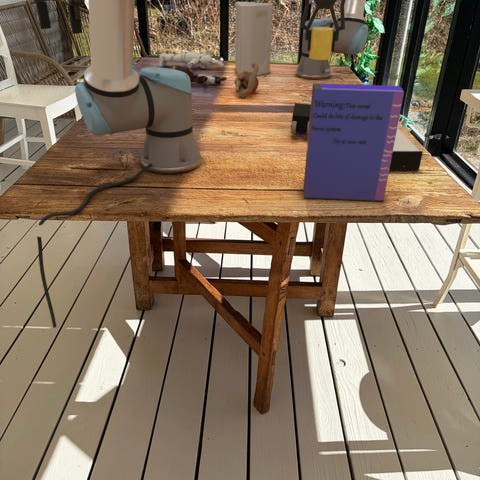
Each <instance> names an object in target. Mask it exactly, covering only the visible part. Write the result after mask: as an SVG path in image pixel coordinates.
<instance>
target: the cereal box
mask: <svg viewBox="0 0 480 480" xmlns="http://www.w3.org/2000/svg"><path fill="white" fill-rule="evenodd" d="M404 94H405V91H404V90H403V88H402V87H401V86H399V85H380V84H379V85H377V84H376V85H375V84H344V83H343V84H341V83H312V87H311V99H310V104H311V109H310V120H309V131H308V134H307V145H306V153H305V154H306V155H305V165H304V177H303V188H302V189H303V190H302V191H303V197H304V199H317V200H343V201H344V200H345V201H346V200H347V201H366V202H367V201H368V202H369V201H370V202H384V201H385V195H386V190H387V184H388V178H389V174H390V171H389V169H390V164H391V158H392V153H393V148H394V142H395V137H396V132H397V128H399V127H398V126H399V120H400V115H401V111H402V104H403V100H404V99H403V98H404Z"/></svg>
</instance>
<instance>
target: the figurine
mask: <svg viewBox="0 0 480 480" xmlns="http://www.w3.org/2000/svg"><path fill="white" fill-rule="evenodd" d="M172 69H174V70H179V71H182V72H184V73H186V74H187V75H188V76H189V78H190V82H191V84H193V83H197V84H198V85H204V84H207V83H208V84H210V85H211V84H212V85H221V84H222V83H223V82H225V81H227V80H228V77H226V76H217V75H216V74H214V75H206V74H203V75H200V74H199V73H197V72H196V73H194V71H193V70H192V68H188V67H187V68H185V67H182V65H177V64H172Z"/></svg>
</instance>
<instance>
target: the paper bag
mask: <svg viewBox="0 0 480 480" xmlns="http://www.w3.org/2000/svg"><path fill="white" fill-rule="evenodd" d="M273 8H274V4H273V3H269V2H267V3H266V2H265V3H264V2H252V1H235V59H234V60H235V62H234V63H235V65H234V66H235V68H234V69H235V71H236V73H237V76H238V75H239V74H240V72H241V71H243V70H245V71H249V72H253V70H254V68H253V67H252V64H253V63H256V64H257V65H258V67H259V70H258V73H257V75H256V77H257V76H259V75H260V76H261V75H266V74H270V73H271V56H272V55H271V54H272V33H273V32H272V31H273V10H274V9H273Z"/></svg>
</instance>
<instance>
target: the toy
mask: <svg viewBox="0 0 480 480" xmlns="http://www.w3.org/2000/svg"><path fill="white" fill-rule="evenodd" d="M158 60H159V61H158V67H159V68H164V66H166V65H167V64H168V63H177V64H178V63H179V64H180V63H183V64H185V65H186V66H187V68H190V69H192V68H193V67H196V66H198V65H199V68H201V69H203V70H205V69H207V67H209V66H212V65H213V64H214V65H218V66H219V67H220V68H223V67H225V64H224V63H223V62H222V61H221V60H219V59H213V57H212V56H211V55H209V54H206V52H202V53H197V52H194V51H189V52H181V53H176V54H174V53H171V52H170V53H167V52H163V51H162V53H160V54H159V59H158Z"/></svg>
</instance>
